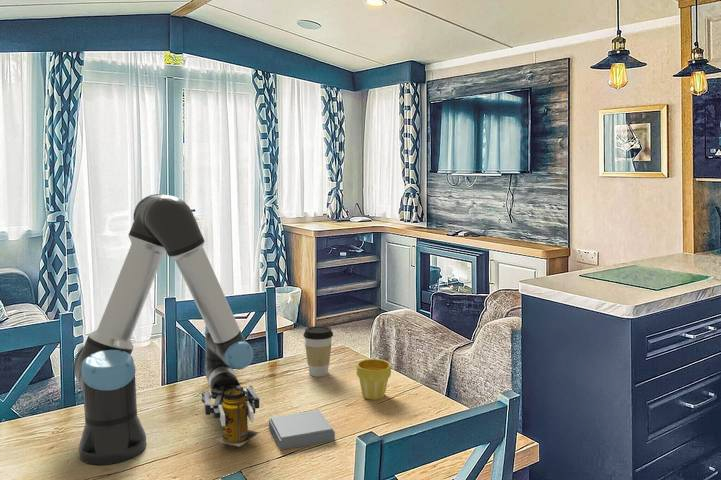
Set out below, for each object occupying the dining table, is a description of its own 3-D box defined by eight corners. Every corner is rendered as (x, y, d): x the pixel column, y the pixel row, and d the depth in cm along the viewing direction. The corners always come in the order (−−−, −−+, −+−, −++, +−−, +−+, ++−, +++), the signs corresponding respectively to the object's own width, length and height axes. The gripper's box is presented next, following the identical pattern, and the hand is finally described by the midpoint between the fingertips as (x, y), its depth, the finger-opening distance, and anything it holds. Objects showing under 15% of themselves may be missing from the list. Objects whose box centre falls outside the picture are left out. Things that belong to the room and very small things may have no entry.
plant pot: (397, 393, 177) (397, 362, 176) (379, 405, 168) (379, 372, 167) (368, 386, 183) (368, 356, 181) (349, 397, 174) (349, 365, 173)
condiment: (215, 441, 142) (214, 393, 141) (237, 427, 150) (236, 382, 149) (239, 447, 139) (238, 399, 138) (260, 433, 147) (259, 387, 145)
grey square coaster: (280, 450, 142) (280, 438, 142) (269, 427, 154) (268, 416, 154) (334, 440, 147) (334, 429, 147) (319, 419, 159) (319, 408, 159)
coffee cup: (335, 368, 199) (335, 325, 197) (331, 379, 189) (330, 334, 187) (306, 367, 200) (306, 325, 198) (301, 378, 190) (300, 333, 188)
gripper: (258, 393, 164) (277, 427, 143) (188, 402, 157) (197, 439, 136) (258, 367, 163) (277, 398, 142) (187, 375, 156) (196, 409, 135)
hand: (237, 418), depth 139 cm, fingers closed on condiment, 6 cm apart
